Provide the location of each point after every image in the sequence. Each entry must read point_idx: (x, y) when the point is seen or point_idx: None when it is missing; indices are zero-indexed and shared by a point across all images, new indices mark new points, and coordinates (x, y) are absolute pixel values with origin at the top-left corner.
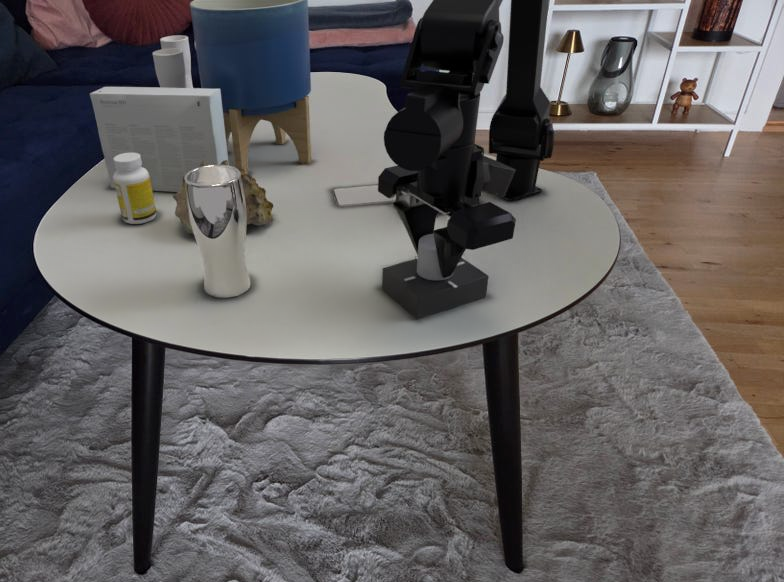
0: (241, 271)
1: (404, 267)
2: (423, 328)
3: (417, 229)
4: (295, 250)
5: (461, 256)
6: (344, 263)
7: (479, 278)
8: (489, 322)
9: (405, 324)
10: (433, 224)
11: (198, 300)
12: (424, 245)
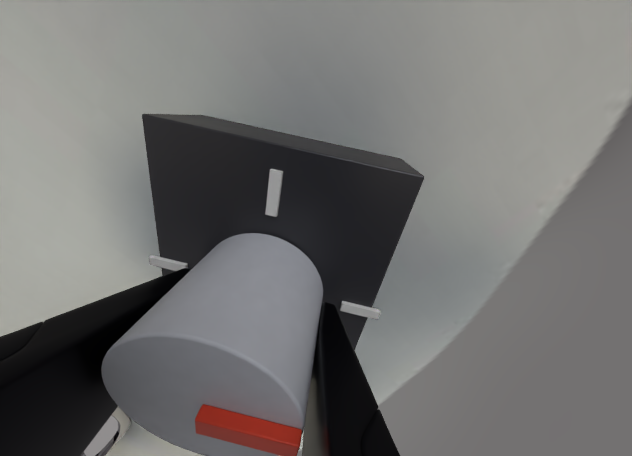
0: (87, 452)
1: None
2: (370, 345)
3: (58, 449)
4: (2, 305)
5: (371, 394)
6: (78, 281)
7: (404, 220)
8: (479, 251)
9: None
10: (8, 389)
11: (123, 438)
12: (201, 447)
